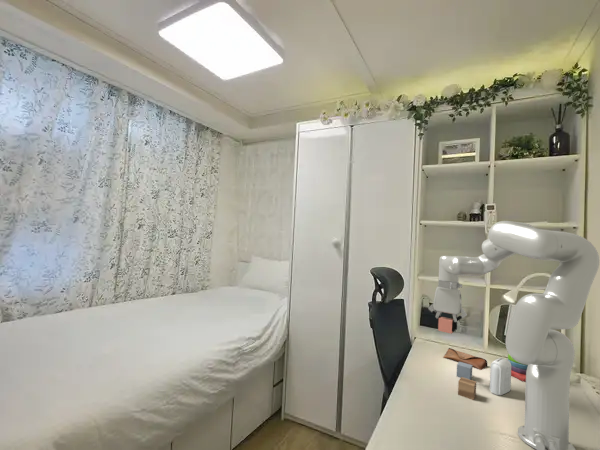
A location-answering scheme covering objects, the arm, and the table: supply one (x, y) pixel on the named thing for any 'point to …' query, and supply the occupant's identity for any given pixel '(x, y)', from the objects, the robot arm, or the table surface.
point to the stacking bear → (518, 369)
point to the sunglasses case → (466, 359)
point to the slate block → (464, 370)
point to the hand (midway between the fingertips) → (446, 328)
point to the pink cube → (445, 325)
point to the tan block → (467, 388)
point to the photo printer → (500, 376)
